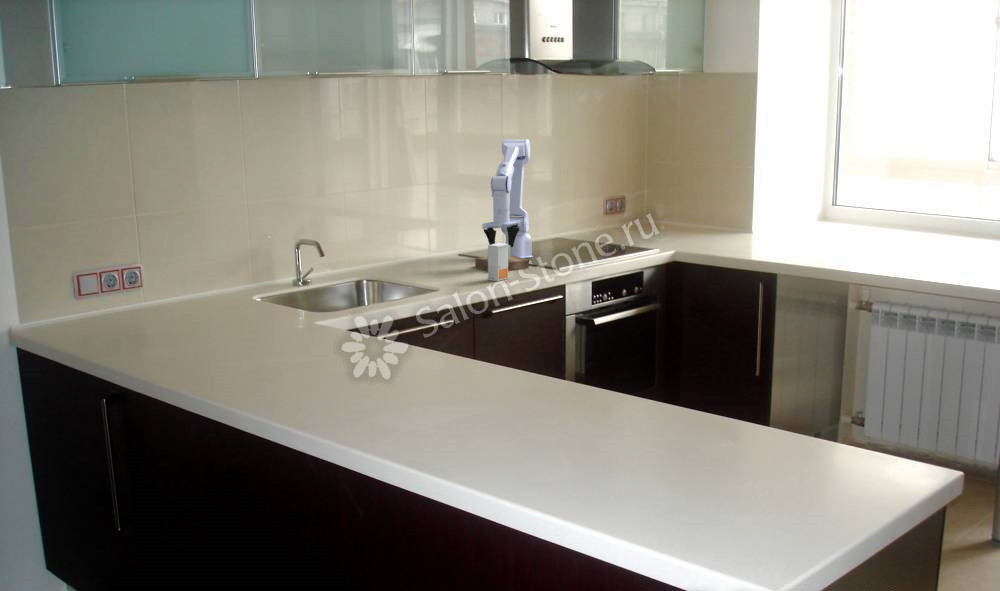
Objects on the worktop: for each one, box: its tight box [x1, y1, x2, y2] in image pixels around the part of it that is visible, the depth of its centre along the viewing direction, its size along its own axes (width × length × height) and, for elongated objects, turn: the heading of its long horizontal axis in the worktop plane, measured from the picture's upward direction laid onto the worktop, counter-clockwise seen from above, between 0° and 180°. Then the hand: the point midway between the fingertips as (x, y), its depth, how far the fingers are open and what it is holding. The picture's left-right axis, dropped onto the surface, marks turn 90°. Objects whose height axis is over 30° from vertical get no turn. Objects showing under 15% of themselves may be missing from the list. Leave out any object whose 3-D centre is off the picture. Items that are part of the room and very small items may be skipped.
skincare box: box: [487, 242, 509, 282], centre depth 334 cm, size 6×4×12 cm
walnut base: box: [474, 255, 530, 272], centre depth 356 cm, size 14×14×3 cm
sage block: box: [508, 245, 511, 260], centre depth 355 cm, size 4×4×5 cm
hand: (501, 247), depth 355 cm, fingers open, 7 cm apart
